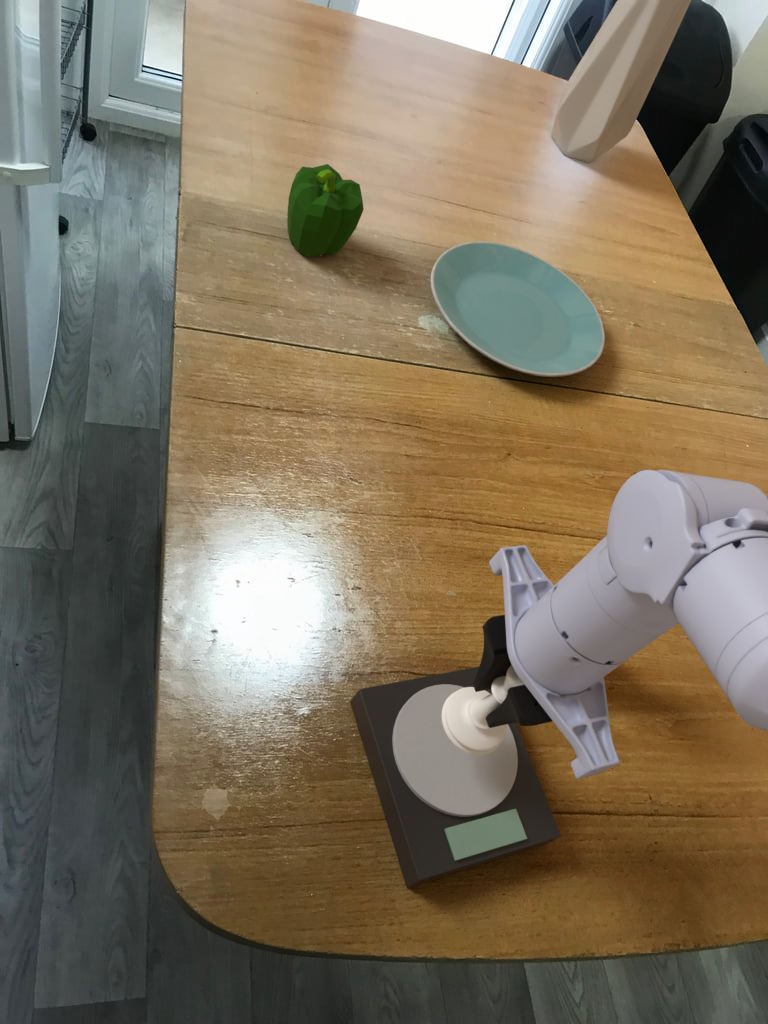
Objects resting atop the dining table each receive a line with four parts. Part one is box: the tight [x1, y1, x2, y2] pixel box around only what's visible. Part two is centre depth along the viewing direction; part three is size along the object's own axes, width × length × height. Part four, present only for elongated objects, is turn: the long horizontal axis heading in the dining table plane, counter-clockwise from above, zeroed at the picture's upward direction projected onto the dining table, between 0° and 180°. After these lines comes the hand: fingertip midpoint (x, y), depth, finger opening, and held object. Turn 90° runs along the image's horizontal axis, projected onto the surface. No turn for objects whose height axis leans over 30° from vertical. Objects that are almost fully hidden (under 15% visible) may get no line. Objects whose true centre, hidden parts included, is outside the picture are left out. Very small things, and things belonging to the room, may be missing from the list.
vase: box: [550, 0, 692, 164], centre depth 118 cm, size 12×12×33 cm
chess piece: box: [442, 665, 525, 755], centre depth 57 cm, size 5×5×10 cm
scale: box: [349, 666, 562, 889], centre depth 64 cm, size 14×12×3 cm
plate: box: [429, 240, 606, 378], centre depth 99 cm, size 22×22×3 cm
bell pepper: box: [286, 163, 364, 258], centre depth 92 cm, size 8×8×10 cm
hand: (492, 702), depth 58 cm, fingers closed on chess piece
